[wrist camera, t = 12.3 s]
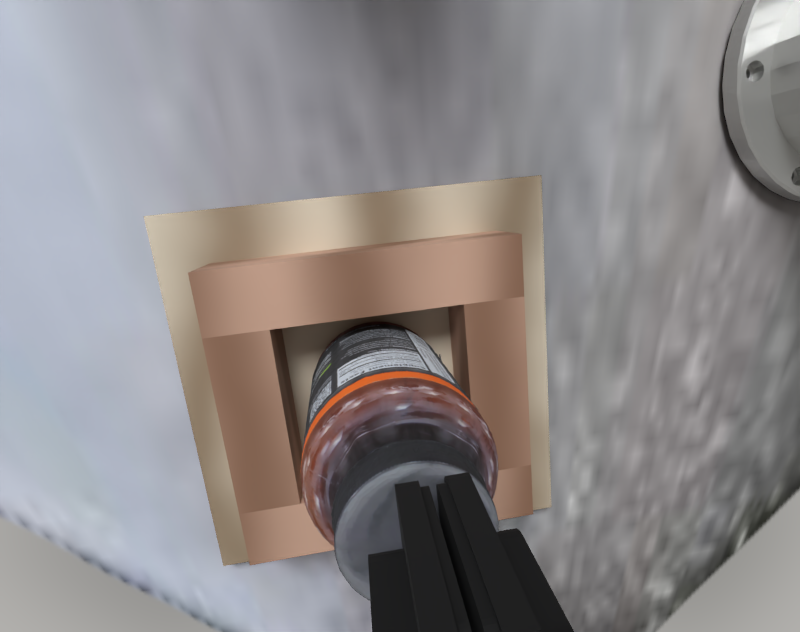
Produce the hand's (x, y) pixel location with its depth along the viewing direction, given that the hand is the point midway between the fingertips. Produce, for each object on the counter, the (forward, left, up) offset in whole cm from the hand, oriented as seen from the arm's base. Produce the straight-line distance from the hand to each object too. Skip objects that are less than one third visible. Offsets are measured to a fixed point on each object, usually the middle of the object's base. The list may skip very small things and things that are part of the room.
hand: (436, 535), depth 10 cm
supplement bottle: (0, +1, -12) cm, 12 cm away
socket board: (+1, +1, -13) cm, 13 cm away
